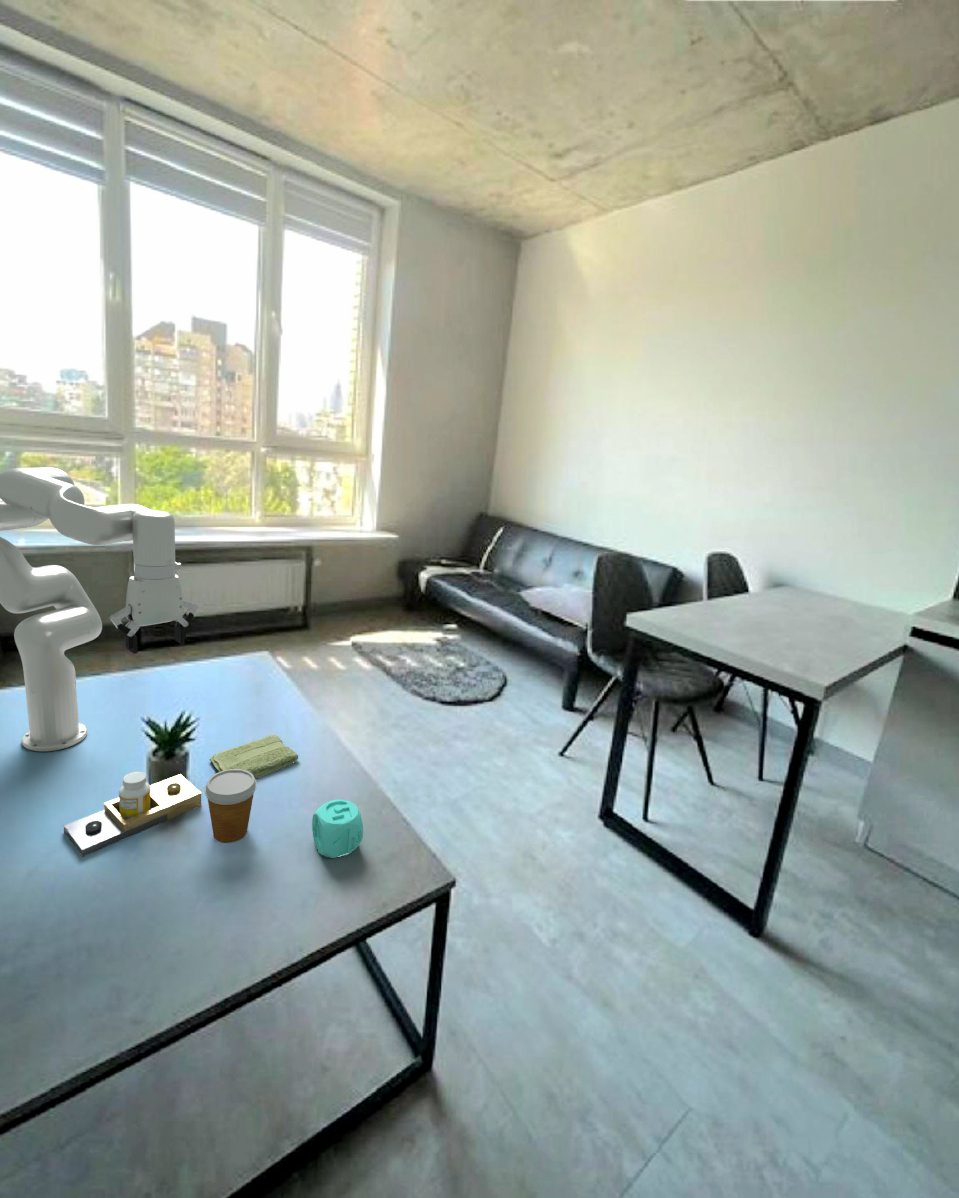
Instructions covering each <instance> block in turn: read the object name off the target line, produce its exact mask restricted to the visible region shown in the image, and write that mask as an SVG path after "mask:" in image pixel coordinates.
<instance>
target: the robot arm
mask: <svg viewBox="0 0 959 1198" xmlns="http://www.w3.org/2000/svg"><path fill="white" fill-rule="evenodd" d="M47 520H50V523H51V525H52V526H53V527H54V529H56V531H57V532H58V533H59V534H61V535H63V536H64V537H67V538H69V539H72V540H74V541H78V542H81V543H84V544H87V545H92V546H93V545H94V546H106V545H111V544H112V545H113V544H116V543H121V542H122V543H123V542H129V541H130V542H131V541H132V548H133V553H132V554H133V576H130V577H129V578H128V584H127V589H126V597H125V598H126V599H125V600H126V601H125V606H124V607H123V608H121V609H120V610H119V611H116V612H115V613H113V614H111V615H110V616H109V620H110V621H111V623H112V624H113V625H114V626H115V628H116V629H117V630H119V631H120V632H122V633H124V640H125V649H126V650H128V651H129V652H130V653H132V654H133V655H134V654H138V653H139V650H138V649H139V646H138V636H137V634H136V633H137V632H138V631H139V629H140V628H141V627H147V626H152V625H159V624H163V623H164V624H165V623H169V622H176V623H174V627H173V628H174V641H175V642H177V643H178V644H180V645H185V641H186V638H187V628H186V627H188V626H189V623H190V622H191V620H192V619H193V618H194V616H195V614H196V611H197V609H198V608H199V606H198V605H197V604H196V603H193V602H192V601H191V602H190V601H189V600H185V599H184V598H183V597H184V596H183V590H182V586H181V582H180V578H179V575H177V571H178V570H181V569H182V568H183V566H182V563H181V562H176V530H175V529H176V525H175V523H176V521H175V518H174V516H173V515H172V514H171V513H170V512H166V511H163V510H156V509H155V510H154V509H150V508H148V507H145V506H143V505H140V504H136V503H123V504H122V503H121V504H112V505H102V506H87V505H85V496H84V494H83V491H82V490H81V489H80V488H79V487H78V486H76V485H75V482H74V480H73V479H72V477H71V476H70V475H69V474H68V473H66V472H65V471H63V470H61V469H59V468H57V467H52V466H51V467H48V466H47V467H45V466H44V467H15V468H9V469H7V470H4V471H1V472H0V531H8V530H9V531H10V530H16V529H17V530H18V529H25V528H26V529H27V528H32V527H36V526H38V525H40V524H42V523H44V522H45V521H47ZM0 605H1V606H2V607H3V608H4V610H6V611H7V612H8V613H12V614H24V613H29V612H33V611H38V610H42V609H47V608H50V607H54V608H55V609H52V610H48V611H45V612H43V613H42V612H41V613H38V614H34V615H31V616H29V617H27V618H25V619H23V620H22V621H21V622H19V623H18V625H16V627H15V628H14V632H13V636H14V637H13V638H14V642H15V645H16V648H17V650H18V653H19V656H20V660H21V664H22V671H23V678H24V679H23V680H24V686H25V687H24V688H25V698H26V707H27V709H26V710H27V719H28V727H29V728H28V729H29V730H28V731H27V732H26V733H25V734H24V735H22V738H21V744H22V746H23V747H24V748H25V749H27V750H29V751H34V752H51V751H52V752H53V751H58V750H63V749H66V748H70V747H73V746H74V745H77V744H79V743H80V742H82V741H83V740H84V739H85V738H87V737H86V736H87V735H88V728H87V726H86V725H85V724H83V723H82V722H80V721H79V720H80V719H79V708H78V707H79V706H78V695H77V694H78V693H77V678H76V669H75V666H74V663H73V662H72V661H71V660H70V659H69V657H67V656H66V655H65V651H68V650H69V649H72V648H74V647H77V646H80V645H83V644H86V643H89V642H91V641H93V640H95V639H96V638H98V637H99V636H100V634H101V633H102V630H103V622H102V619H101V616H100V614H99V612H98V610H97V608H96V607H95V605H94V604H93V602H92V600H91V599H90V597H89V596H88V594H87V592H86V591H85V589H84V588H83V586H82V585H81V582H80V581H79V580H78V578H77V577H76V576H75V574H73V572H71V571H70V570H69V569H68V568H66V567H64V566H62V565H59V564H49V565H47V564H46V565H43V566H36V567H33V566H32V565H30V563H29V562H28V560H27V559H26V557H25V555H24V554H23V553H22V551H21V550H20V549H19V547H17V546H16V545H14V544H13V543H12V542H10V541H9V540H7V539H6V538H3V537H1V536H0ZM184 608H187V610H186V612H185V613H184ZM124 618H126V620H128V622H127V623H126V624H124V623H123V622H122V619H124Z"/></svg>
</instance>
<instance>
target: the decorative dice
mask: <svg viewBox="0 0 959 1198" xmlns="http://www.w3.org/2000/svg"><path fill="white" fill-rule="evenodd" d="M311 830H312V839H313V842H314V843H313V844H314V846H315V845H316V846H315V849H316V848H317V849H318V851H317V852H318V853H319V854H320V855H321V854H322V855H321V856H323V855H324V857H326V858H329V857H332V858H331V859H336V858H335V857H338V856H340V855H343V854H346V853H350V854H351V853H353V852H354V851H356V849H357V848H358V847H360V845H361V842H362V840H363V836H364V825H363V819H362V815H361V811H360V809H359V807H358V806H357V804H355V803H353V802H352V801H350V800H347V799H332V800H329V801H327V802H325V803H323V804H322V805H321V806H319V807H318V808H317V809H316V810H315V812H314V814H313V815H312V821H311ZM317 849H316V850H317ZM352 851H353V852H352Z"/></svg>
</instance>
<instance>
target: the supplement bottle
mask: <svg viewBox="0 0 959 1198" xmlns="http://www.w3.org/2000/svg"><path fill="white" fill-rule="evenodd" d="M118 797H119V809H120V815H121V816H122V817H123V818H124V819H125V820H126V819H129V818H131V817H134V816H136V815H139V814H141V813H144V812H146V811H148V810H151V809H150V784H149V782H148V781H147V774H146V773H145V772H142V771H132V772H129V773H127V774H126V775H124V776H123V778H122V786H121V787H120V788H119V790H118Z"/></svg>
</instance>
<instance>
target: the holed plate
mask: <svg viewBox="0 0 959 1198" xmlns="http://www.w3.org/2000/svg"><path fill="white" fill-rule="evenodd" d="M149 785H150V784H149ZM103 807H104V809H103V810H100V811H98V812H95V813H92V814H90V815H87V816H85V817H82V818H80V819H77V820H74V821H72V822H69V823H67V824H64V825H63V833H64V835H65V836H66V837H67V838H68V840H69V841H70V843H72V845H73V846H74V848H75V850H77V852H78V853H79V855H80V856H81V857H82V858H83V857H86V856H88V855H91V854H93V853H95V852H98V851H99V850H103V849H105V848H107V847H109V846H111V845H113V844H116V843H118V842H121V841H123V840H126V839H128V838H130V837H132V836H134V835H137V834H139V833H141V832H144V831H146V830H148V829H151V828H154V827H155V826H157V825H159V824H162V823H165V822H167V821H170V820H171V819H174V818H176V817H178V816H181V815H183V814H186V813H188V812H190V811H193V810H195V809H197V808H200V807H202V791H200V790H199V789H198V788H196V786H194V785H193V784H192V783H191V782H190V781H189V780H188V779H187V778H185V776H183V775H182V774H181V773H180V774H177V775H174V776H172V777H169V778H167V779H163V780H161V781H159V782H155V783H152V784H151V785H150V810H148V811H146V812H144V813H141V814H139V815H136V816H134V817H131V818H129V819H126V820H125V819H124V818H123V817H122V816H121V815H120V809H119V796H118V797H117V798H113V799H111V800H108V801H106V802H103Z"/></svg>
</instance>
